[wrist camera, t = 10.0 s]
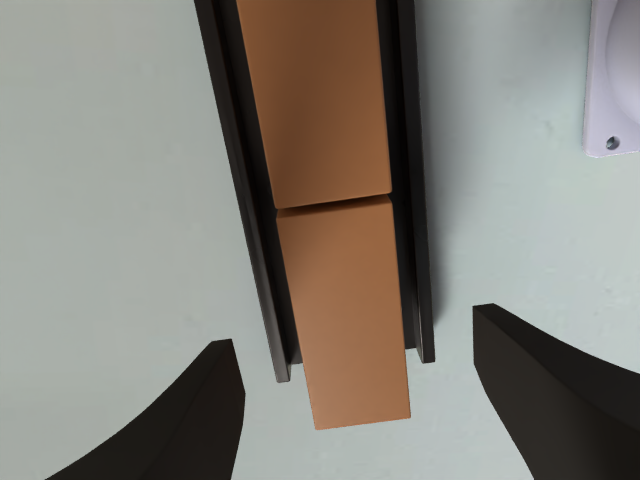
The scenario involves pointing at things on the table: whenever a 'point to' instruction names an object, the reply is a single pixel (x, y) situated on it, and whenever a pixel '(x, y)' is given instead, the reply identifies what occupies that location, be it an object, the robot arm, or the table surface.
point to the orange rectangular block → (347, 309)
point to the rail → (255, 187)
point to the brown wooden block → (318, 97)
